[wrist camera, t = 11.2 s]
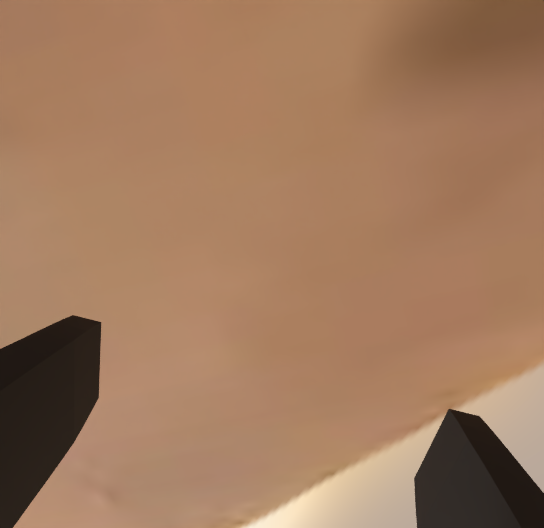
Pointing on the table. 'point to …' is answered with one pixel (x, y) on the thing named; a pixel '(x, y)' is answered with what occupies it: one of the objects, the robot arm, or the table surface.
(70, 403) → the robot arm
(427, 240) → the table surface
